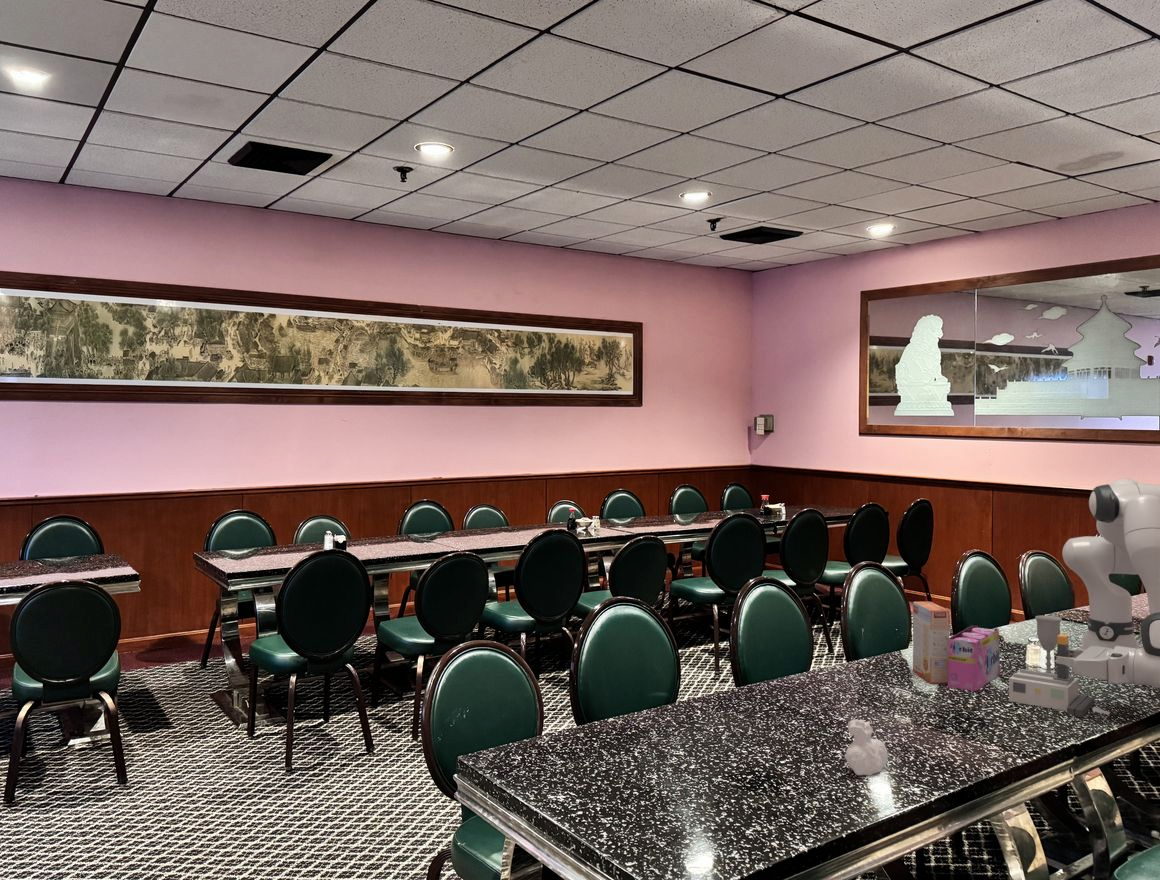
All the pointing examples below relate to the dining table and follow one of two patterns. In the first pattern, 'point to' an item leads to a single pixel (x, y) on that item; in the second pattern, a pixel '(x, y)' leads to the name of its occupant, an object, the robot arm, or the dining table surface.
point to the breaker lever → (1064, 651)
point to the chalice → (1048, 635)
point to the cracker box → (931, 641)
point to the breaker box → (1042, 690)
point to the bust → (865, 750)
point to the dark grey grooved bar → (1081, 705)
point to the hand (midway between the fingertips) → (1061, 656)
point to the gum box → (973, 658)
